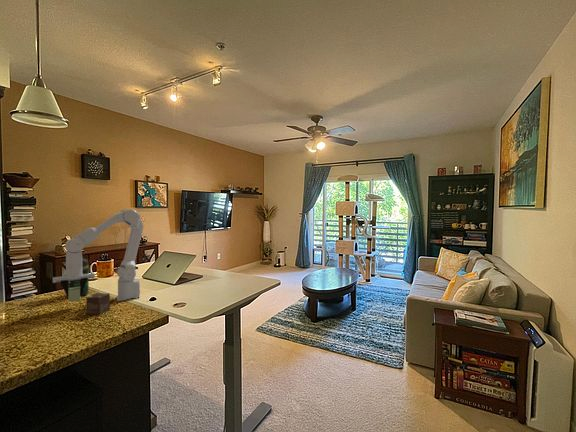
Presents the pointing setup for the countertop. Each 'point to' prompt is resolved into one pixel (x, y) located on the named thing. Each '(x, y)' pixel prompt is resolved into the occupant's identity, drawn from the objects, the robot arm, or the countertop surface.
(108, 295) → the box
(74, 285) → the coffee jar
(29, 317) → the countertop surface
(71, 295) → the sage block
